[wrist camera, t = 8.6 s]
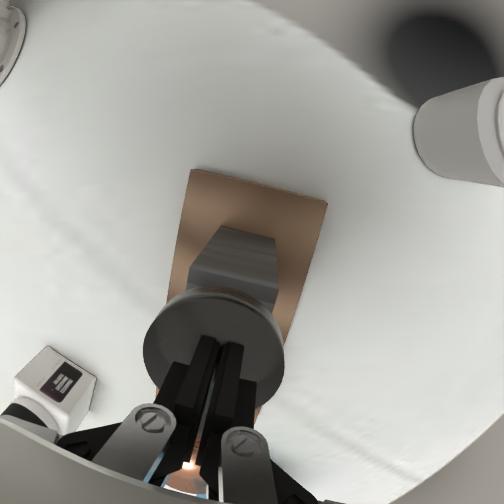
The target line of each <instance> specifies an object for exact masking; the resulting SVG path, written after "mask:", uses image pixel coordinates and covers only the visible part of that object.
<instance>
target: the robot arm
mask: <svg viewBox="0 0 504 504" xmlns="http://www.w3.org/2000/svg"><path fill="white" fill-rule="evenodd" d="M8 5H9V2H8V0H0V84H1V83H2V82H3V80H4V79H5V78H6V76H7V75H8V73H9V71H10V70H11V68H12V66H13V65H14V62H15V60H16V58H17V56H18V54H19V51H20V49H21V46H22V42H23V39H24V34H25V25H26V21H25V16H24V14H23V12H22V11H21V10H20V9H19V8H16V7H14V6H8ZM219 345H220V343H216V342H215V338H212V337H208V336H204V335H201V337H200V340H199V342H198V345H197V347H196V350H195V353H194V355H193V358H192V360H191V363H190V365H186V364H183V363H179V362H176V361H174V362H173V363H172V365H171V367H170V369H169V371H168V373H167V375H166V378H165V380H164V382H163V384H162V386H161V388H160V390H159V392H158V394H157V397H156V399H155V401H154V403H153V404H151V403H148V404H142V405H139V406H137V407H136V408H134V409H133V410H132V411H131V413H130V414H129V415H128V416H127V417H126V419H125V420H124V421H123V422H120V423H116V424H112V425H107V426H103V427H98V428H93V429H88V430H83V431H78V432H72V433H69V434H66V435H60V434H58V431H56V430H53V429H49V428H46V427H43V426H40V425H36V424H33V423H30V422H27V421H25V420H22V419H19V418H16V417H13V416H10V415H0V504H344V503H339V502H334V501H330V500H324V502H322V501H317V499H316V498H315V497H314V496H313V495H312V494H311V493H310V492H308V491H307V490H306V489H305V488H303V487H302V486H301V485H300V484H299V483H297V482H296V481H295V480H294V479H293V478H291V477H290V476H289V475H288V474H287V473H286V472H285V471H283V470H282V469H281V468H280V467H279V466H278V465H277V464H275V463H274V462H273V461H272V460H271V459H270V454H269V449H268V444H267V441H266V439H265V438H264V437H263V435H262V434H260V433H259V432H258V431H256V430H254V417H255V403H256V390H257V382H255V381H250V380H246V379H241V378H240V373H241V366H242V359H243V353H244V345H240V344H236V343H232V342H231V343H230V346H228V345H224V348H223V352H222V356H221V360H220V364H219V368H218V372H217V376H216V380H215V384H214V388H213V391H212V395H211V399H210V403H209V407H208V411H207V415H206V419H205V424H204V428H203V432H202V436H201V440H200V445H199V449H198V453H197V457H196V461H195V465H198V466H201V467H200V471H199V475H200V476H201V478H202V479H203V480H204V481H205V482H206V483H207V486H206V499H204V498H200V497H196V496H191V495H187V494H184V493H180V492H176V491H172V490H169V489H165V488H163V487H164V486H165V484H166V482H167V480H168V478H169V474H171V473H174V472H176V471H179V470H180V469H182V467H183V463H184V462H186V463H190V460H191V456H192V453H193V449H194V445H195V441H196V438H197V434H198V430H199V426H200V423H201V419H202V415H203V411H204V408H205V404H206V400H207V396H208V392H209V388H210V383H211V379H212V375H213V370H214V366H215V362H216V358H217V353H218V349H219Z"/></svg>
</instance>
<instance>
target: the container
mask: <svg viewBox="0 0 504 504" xmlns="http://www.w3.org/2000/svg"><path fill="white" fill-rule="evenodd" d="M13 382H14V401H13V402H12V403H11V404H10V405H9V406H8V408H7V409H6V410H5V411H4V412H3V413H2V414H1V415H10V416H13V417H16V418H19V419H22V420H25V421H27V422H30V423H33V424H36V425H40V426H43V427H46V428H49V429H53V430H56V431H58V434H60V435H66V434H69V433H72V432H76V430H77V428H78V427H79V425H80V424H81V422H82V421H83V419H84V418H85V416H86V414H87V413H88V410H89V406H90V402H91V398H92V394H93V390H94V386H95V382H96V378H95V377H94V376H93V375H91V374H89V373H88V372H86V371H85V370H83V369H81V368H80V367H78V366H77V365H75V364H73V363H72V362H70V361H69V360H67V359H66V358H64V357H63V356H61V355H60V354H58V353H57V352H55V351H54V350H53V349H51V348H50V347H48V346H46V347H45V348H44V349H43V350H42V351H41V352H39V353H38V354H37V355H36V356H35V357H34V358H33V359H32V360H31V361H30V362H29V363H28V364H27V365H26V366H25V367H24V368H23V369H22V370H21V371H20V372H19V373H18V374H17V375H16V376H15V377H14V379H13Z"/></svg>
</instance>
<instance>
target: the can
mask: <svg viewBox="0 0 504 504" xmlns="http://www.w3.org/2000/svg"><path fill="white" fill-rule="evenodd" d="M414 139H415V144H416V147H417V150H418V153H419V155H420V157H421V158H422V160H423V161H424V163H425V164H426V166H427V167H428V168H429V169H431V170H432V171H433V172H434V173H435V174H437V175H439V176H442V177H444V178H448V179H455V180H462V181H468V182H475V183H481V184H487V185H493V186H498V187H504V77H501V78H496V79H491V80H488V81H485V82H481V83H478V84H475V85H472V86H468V87H465V88H462V89H459V90H456V91H453V92H450V93H446V94H444V95H441V96H438V97H435V98H432V99H429V100H428V101H427V102H426V103H424V104H423V105H422V106H421V108H420V109H419V111H418V113H417V115H416V117H415V123H414Z"/></svg>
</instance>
